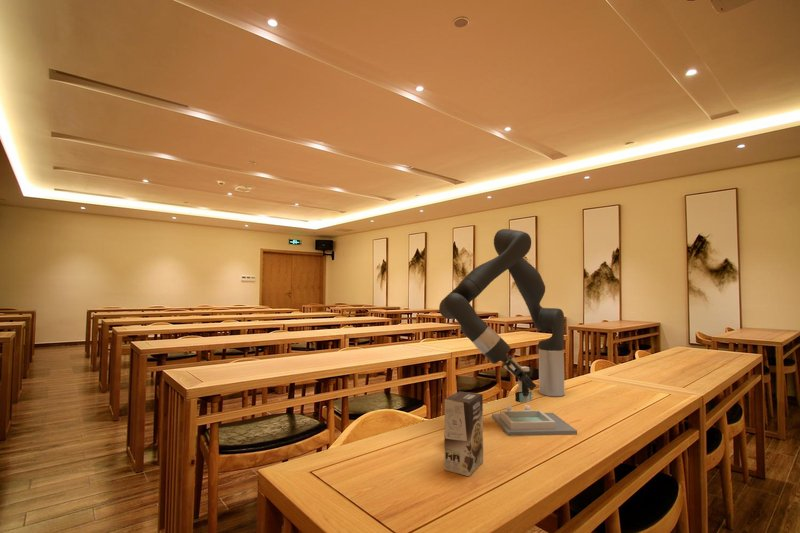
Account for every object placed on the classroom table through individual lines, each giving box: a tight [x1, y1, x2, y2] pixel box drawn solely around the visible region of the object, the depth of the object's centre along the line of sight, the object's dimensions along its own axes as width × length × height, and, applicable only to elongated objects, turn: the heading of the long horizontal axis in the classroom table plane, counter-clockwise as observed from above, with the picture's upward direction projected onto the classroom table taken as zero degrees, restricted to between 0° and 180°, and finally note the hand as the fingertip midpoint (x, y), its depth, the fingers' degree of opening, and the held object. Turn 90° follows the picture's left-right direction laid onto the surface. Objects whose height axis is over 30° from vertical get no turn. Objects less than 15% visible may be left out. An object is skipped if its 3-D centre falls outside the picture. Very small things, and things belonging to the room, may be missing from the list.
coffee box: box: [443, 390, 484, 477], centre depth 93 cm, size 9×6×16 cm
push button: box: [514, 365, 534, 404], centre depth 119 cm, size 7×5×10 cm
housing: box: [491, 404, 578, 437], centre depth 120 cm, size 16×20×4 cm
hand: (531, 385), depth 119 cm, fingers closed on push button, 5 cm apart
